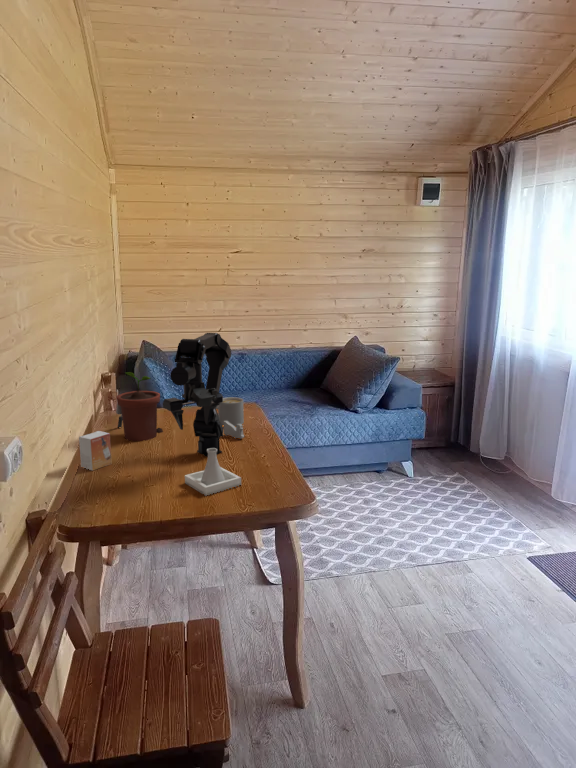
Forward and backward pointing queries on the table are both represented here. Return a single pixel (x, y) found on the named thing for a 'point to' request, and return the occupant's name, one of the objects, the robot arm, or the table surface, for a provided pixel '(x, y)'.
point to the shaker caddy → (195, 483)
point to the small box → (95, 450)
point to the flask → (212, 469)
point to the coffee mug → (231, 411)
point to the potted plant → (138, 413)
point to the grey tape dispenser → (233, 430)
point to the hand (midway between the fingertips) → (194, 426)
